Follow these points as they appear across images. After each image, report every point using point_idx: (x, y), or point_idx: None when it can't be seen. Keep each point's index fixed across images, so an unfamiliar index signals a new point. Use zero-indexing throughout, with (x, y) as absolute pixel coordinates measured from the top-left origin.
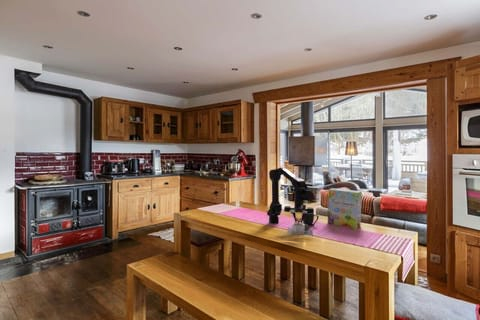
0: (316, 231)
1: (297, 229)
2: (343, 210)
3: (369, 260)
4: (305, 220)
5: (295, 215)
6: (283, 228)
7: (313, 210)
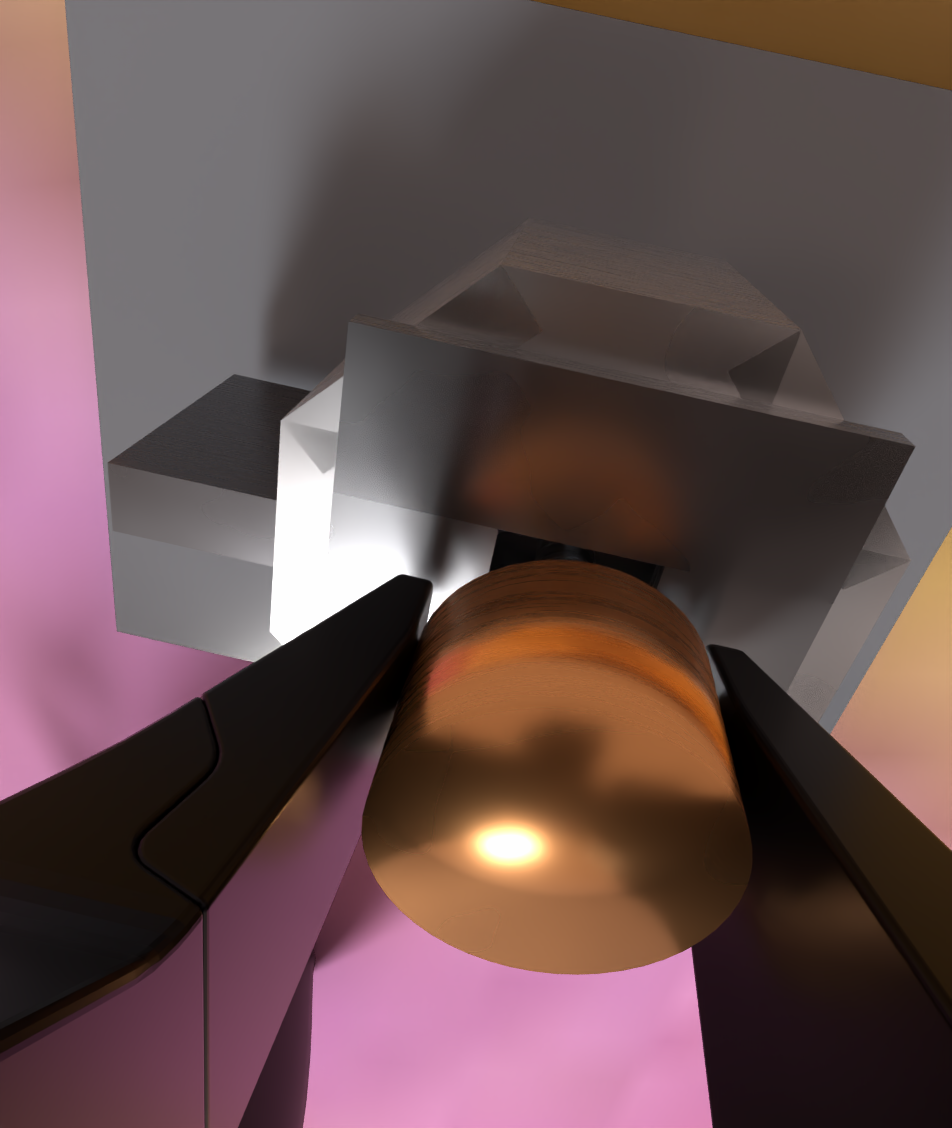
0: (23, 577)
1: (678, 270)
2: None
3: None
4: None
5: (945, 1101)
6: None
7: None
